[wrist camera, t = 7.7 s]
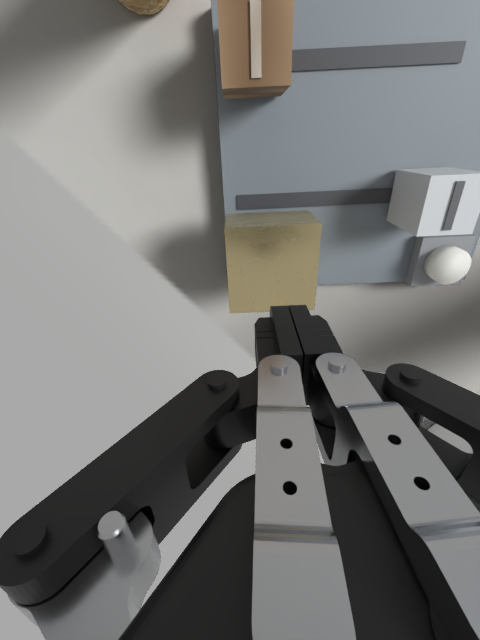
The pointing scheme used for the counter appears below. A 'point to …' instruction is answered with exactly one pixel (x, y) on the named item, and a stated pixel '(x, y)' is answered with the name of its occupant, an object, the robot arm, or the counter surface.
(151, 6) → the sprinkles bottle
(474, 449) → the robot arm
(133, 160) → the counter surface
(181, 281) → the counter surface
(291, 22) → the walnut fader
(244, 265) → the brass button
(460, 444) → the medicine bottle
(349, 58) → the board
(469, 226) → the grey fader
